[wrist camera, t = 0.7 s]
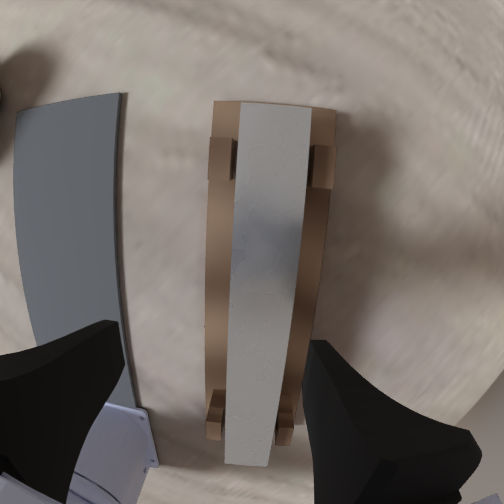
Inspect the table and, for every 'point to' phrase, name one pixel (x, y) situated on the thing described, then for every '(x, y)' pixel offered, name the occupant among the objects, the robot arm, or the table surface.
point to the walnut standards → (220, 261)
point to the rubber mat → (70, 220)
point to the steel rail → (263, 271)
